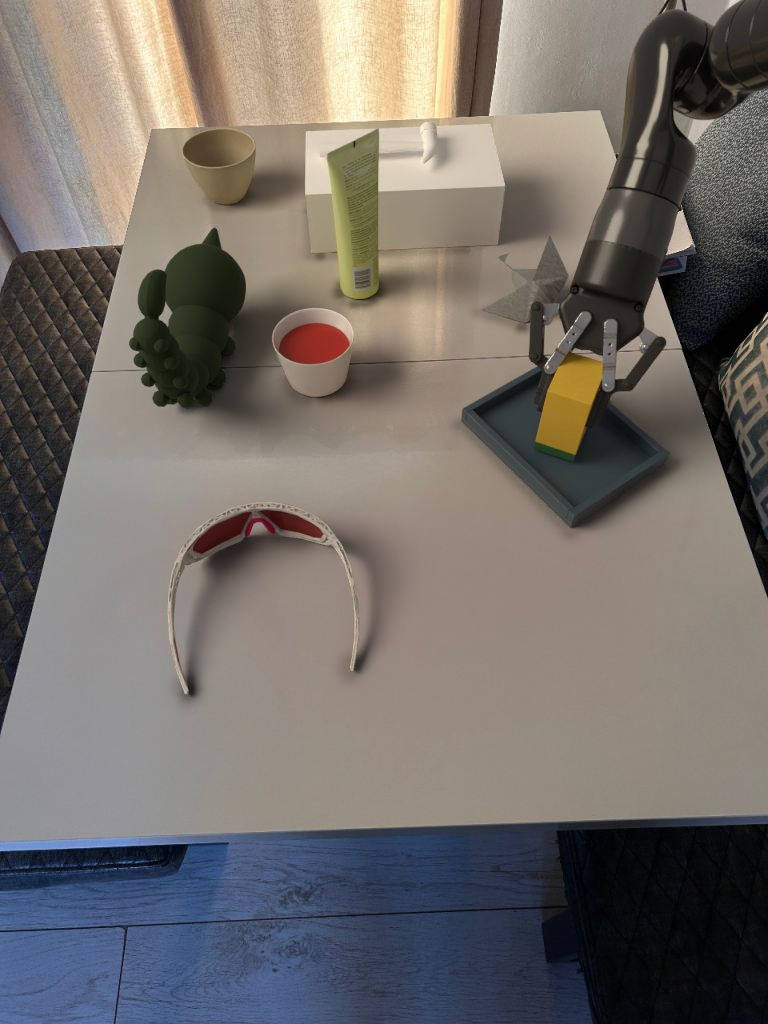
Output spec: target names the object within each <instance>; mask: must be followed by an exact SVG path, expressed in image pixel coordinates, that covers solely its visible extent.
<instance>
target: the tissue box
mask: <svg viewBox="0 0 768 1024" xmlns="http://www.w3.org/2000/svg"><path fill="white" fill-rule="evenodd" d="M377 128H379V127H377ZM377 128H355V129H354V128H353V129H333V130H332V129H327V130H307V131H306V130H305V160H304V161H305V162H304V163H305V165H304V166H305V169H304V175H305V177H304V197H305V206H306V215H307V225H308V233H309V243H310V252H311V254H324V253H325V254H326V253H338V251H337V241H336V230H335V220H334V210H333V201H332V192H331V184H330V176H329V170H328V164H327V153H328V152H330V151H332V150H334V149H337V148H339V147H341V146H343V145H345V144H347V143H349V142H351V141H353V140H355V139H357V138H359V137H361V136H363V135H365V134H367V133H369V132H371V131H373V130H375V129H377ZM495 141H496V140H495V137H494V134H493V129H492V125H491V123H474V124H451V125H450V124H449V125H436V123H435V122H433V121H425V122H423V123H421V125H420V126H401V127H382V128H381V127H380V128H379V170H378V251H392V250H411V249H412V250H413V249H414V250H415V249H435V248H437V249H438V248H456V247H457V248H459V247H480V246H481V247H483V246H497V245H499V238H500V232H501V231H500V230H501V223H502V215H503V206H504V199H505V191H506V183H505V179H504V175H503V171H502V166H501V163H500V159H499V155H498V154H499V153H498V150H497V146H496V142H495Z"/></svg>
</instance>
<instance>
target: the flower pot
mask: <svg viewBox="0 0 768 1024" xmlns="http://www.w3.org/2000/svg"><path fill="white" fill-rule="evenodd" d="M256 146H257V145H256V141H255V139H254V138H253V137H252V136H251V135H250V134H249V133H247V132H245V131H243V130H240V129H237V128H233V127H232V128H231V127H217V128H209V129H205V130H202V131H199V132H197V133H194V134H193V135H191V136H190V137H189V138H187V139H186V140H185V141H184V143H183V144H182V146H181V156H182V158H183V161H184V163H185V166H186V167H187V170H188V172H189V175H191V177H192V179H193V180H194V182H195V183H196V185H197V186H198V187H199V188H200V190H201V191H202V192H203V194H205V195H206V196H207V197H208V198H209V199H210V200H211V201H212V202H213V203H215V204H218V205H222V206H223V205H224V206H226V205H227V206H228V205H233V204H236V203H238V202H240V201H241V200H243V199H244V197H245V196H246V194H247V192H248V190H249V187H250V184H251V182H252V179H253V175H254V171H255V165H256V155H257V154H256V153H257V152H256Z"/></svg>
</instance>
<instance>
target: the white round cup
mask: <svg viewBox="0 0 768 1024" xmlns="http://www.w3.org/2000/svg"><path fill="white" fill-rule="evenodd" d="M354 339H355V332H354V328H353V325H352V323H351V322H350V321H349V320H348V318H346V316H344V315H342V314H341V313H339V312H338V311H335V310H332V309H328V308H321V307H309V308H303V309H299V310H296V311H294V312H293V311H292V313H289V314H287V315H286V316H285V317H283V318H282V319H281V320H280V321H278V323H277V324H276V325H275V327H274V328H273V331H272V335H271V341H272V347H273V349H274V351H275V353H276V356H277V359H278V360H279V363H280V365H281V367H282V370H283V373H284V374H285V376H286V379H287V382H288V383H289V385H290V387H292V389H294V390H295V391H296V392H297V393H299V394H301V395H303V396H305V397H306V396H307V397H312V398H313V397H314V398H316V397H319V398H321V397H326V396H328V395H331V394H334V393H336V392H337V391H339V390H340V389H341V388H342V387H343V386H344V384H345V383H346V381H347V377H348V374H349V369H350V364H351V358H352V351H353V345H354Z"/></svg>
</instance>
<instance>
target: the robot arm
mask: <svg viewBox="0 0 768 1024" xmlns="http://www.w3.org/2000/svg"><path fill="white" fill-rule="evenodd" d="M765 90H768V0H738V1H737V2H735V3H734V4H732V5H731V6H730V7H728V8H727V9H726V10H725V11H724V12H723V13H722V14H721V15H720V16H719V18H718V19H717V21H716V22H715V24H714V25H713V24H712V23H709V22H708V21H706V20H704V19H702V18H700V17H698V16H697V15H696V14H693V13H691V12H689V11H686V10H684V9H680V8H672V9H668V10H665V11H663V12H661V13H660V14H658V15H657V16H655V17H654V18H653V19H651V21H650V22H649V23H648V24H647V25H646V26H645V28H644V29H643V30H642V32H641V34H640V35H639V37H638V39H637V41H636V43H635V45H634V48H633V49H632V53H631V56H630V59H629V64H628V69H627V76H626V84H625V97H624V98H625V100H624V109H623V110H624V111H623V119H622V130H621V140H620V148H619V152H618V155H617V158H616V160H615V164H614V166H613V169H612V172H611V175H610V178H609V181H608V184H607V187H606V190H605V192H604V194H603V197H602V200H601V202H600V203H599V206H598V207H597V210H596V212H595V214H594V217H593V219H592V222H591V225H590V227H589V231H588V233H587V237H586V239H585V242H584V245H583V249H582V251H581V255H580V257H579V260H578V263H577V266H576V269H575V272H574V275H573V278H572V281H571V284H570V287H569V289H568V290H567V293H566V295H564V297H562V299H561V300H560V301H559V302H554V303H549V304H542V303H541V302H539V301H536V302H534V303H533V304H532V305H531V316H530V321H529V343H528V344H529V345H528V346H529V347H528V358H529V361H530V362H531V363H533V364H534V365H535V366H536V367H537V366H538V367H539V368H540V369H541V371H542V376H541V379H540V382H539V385H538V388H537V391H536V394H535V396H534V404H537V405H538V408H537V411H539V412H543V408H544V403H545V399H546V395H547V391H548V389H549V386H550V384H551V382H552V380H553V378H554V375H555V373H556V371H557V369H558V367H559V365H560V364H561V363H562V362H563V360H564V359H565V358H566V357H567V356H568V355H569V354H570V353H574V350H575V349H577V350H580V351H590V352H592V353H593V354H595V355H596V356H600V357H602V362H603V370H602V384H601V387H600V390H599V391H598V392H597V395H596V397H595V400H594V403H593V406H592V408H591V411H590V414H589V417H588V419H587V422H586V425H585V426H586V427H589V428H592V426H593V423H596V424H599V423H600V422H601V420H602V419H603V416H604V414H605V411H606V408H607V405H608V403H609V402H610V400H611V397H612V396H613V394H615V393H618V392H632V391H633V390H634V389H635V388H636V386H637V385H638V384H639V382H640V381H641V380H642V378H643V377H644V375H645V374H646V373H647V371H648V370H649V369H650V367H651V366H652V365H653V364H654V363H655V361H656V359H657V358H658V357H659V356H660V354H661V353H662V351H663V350H664V349H665V347H666V346H667V338H666V337H664V336H662V335H661V336H660V335H657V334H655V333H654V332H652V331H651V330H650V329H648V328H647V327H645V323H646V322H645V316H644V315H645V312H646V309H647V307H648V303H649V300H650V298H651V295H652V292H653V290H654V287H655V284H656V281H657V278H658V276H659V273H660V270H661V267H662V265H663V262H664V259H665V258H666V257H667V254H668V251H669V246H670V242H671V240H672V237H673V234H674V230H675V226H676V221H677V217H678V214H679V211H680V207H681V205H682V202H683V199H684V196H685V194H686V191H687V189H688V185H689V182H690V180H691V178H692V175H693V172H694V169H695V166H696V162H697V158H698V157H697V155H698V153H697V148H696V147H695V145H694V143H693V142H692V141H691V140H690V139H689V137H687V136H686V135H685V134H684V133H683V132H682V130H681V129H679V127H678V125H677V123H676V122H675V115H674V114H675V113H674V112H677V113H678V114H680V115H682V116H684V117H687V118H689V119H692V120H695V121H712V120H717V119H720V118H722V117H725V116H726V115H728V114H729V113H731V112H732V111H733V110H735V109H736V108H738V107H739V106H740V105H742V104H743V103H745V102H747V101H748V100H750V98H752V97H754V96H755V95H756V94H758V92H761V91H765ZM557 315H558V316H559V319H560V322H561V325H562V329H563V332H564V336H563V337H562V339H561V340H560V342H559V343H558V344H557V346H556V348H555V350H554V351H553V352H552V354H551V356H550V357H548V356H546V355H545V336H546V335H545V334H546V326H550V325H551V324H552V322H553V320H554V317H555V316H557ZM638 337H639V338H640V344H639V347H638V348H639V349H638V350H639V353H641V354H642V355H641V356H640V358H639V360H637V362H636V363H635V365H634V366H633V367H632V369H631V370H630V371H629V373H628V374H627V375H626V377H625V378H616V374H617V373H616V372H617V357H618V355H617V354H618V351H620V350H622V348H624V347H625V346H627V345H628V344H630V343H631V342H632V341H634V340H635V339H636V338H638Z"/></svg>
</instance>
